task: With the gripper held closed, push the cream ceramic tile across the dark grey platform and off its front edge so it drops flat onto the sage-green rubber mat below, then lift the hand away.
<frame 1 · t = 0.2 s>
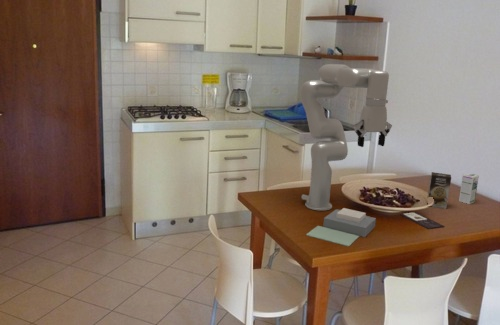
hand: (370, 145, 192), 36 cm above the table, tool pointing down, fingers open, 9 cm apart
coffee box: (436, 206, 240), on the table
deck: (349, 226, 206), on the table
chocolate bar: (421, 222, 217), on the table
syrup box: (466, 202, 248), on the table
mat: (332, 236, 195), on the table
tile: (351, 217, 205), point 4 cm above the table, touching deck
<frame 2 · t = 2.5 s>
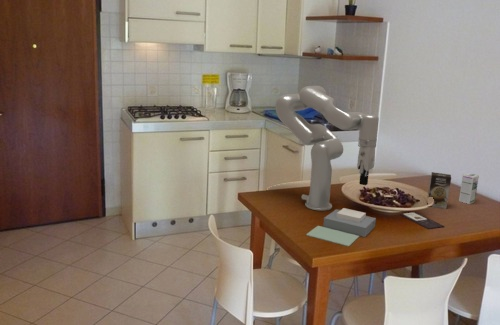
hand: (363, 184, 211), 16 cm above the table, tool pointing down, fingers closed
nothing on the table moved.
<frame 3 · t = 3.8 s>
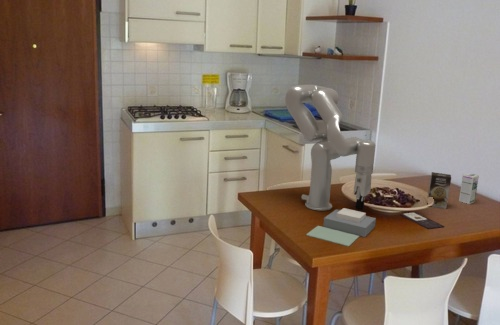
hand: (359, 209, 214), 5 cm above the table, tool pointing down, fingers closed
nothing on the table moved.
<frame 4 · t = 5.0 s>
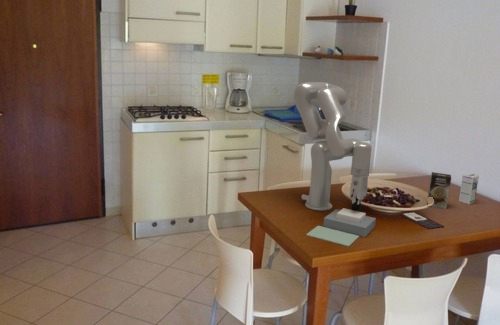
hand: (355, 212, 210), 5 cm above the table, tool pointing down, fingers closed
tile: (350, 217, 205), point 4 cm above the table, touching gripper
everything else where it was.
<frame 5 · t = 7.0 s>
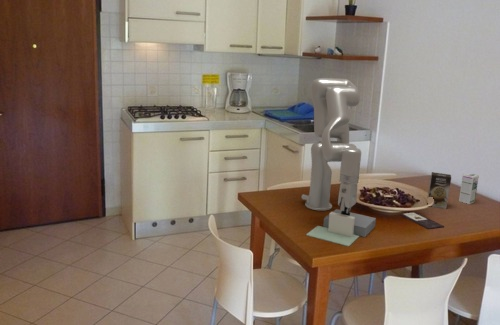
hand: (344, 221, 198), 5 cm above the table, tool pointing down, fingers closed
tile: (342, 223, 197), point 5 cm above the table, tilted 94°, touching gripper, mat
everything else where it was.
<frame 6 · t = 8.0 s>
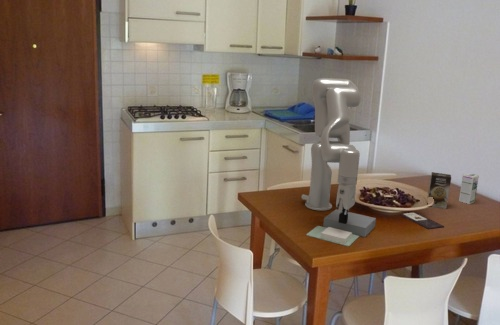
hand: (342, 222, 197), 5 cm above the table, tool pointing down, fingers closed
tile: (336, 232, 192), point 2 cm above the table, tilted 180°, touching mat
everything else where it was.
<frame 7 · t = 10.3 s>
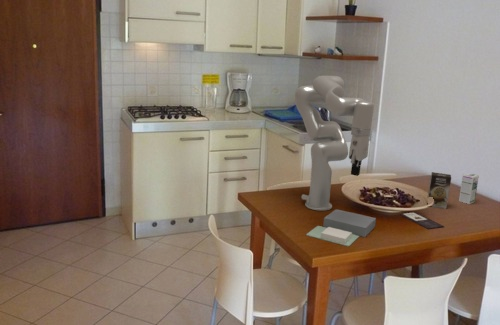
hand: (355, 174, 201), 23 cm above the table, tool pointing down, fingers closed
nothing on the table moved.
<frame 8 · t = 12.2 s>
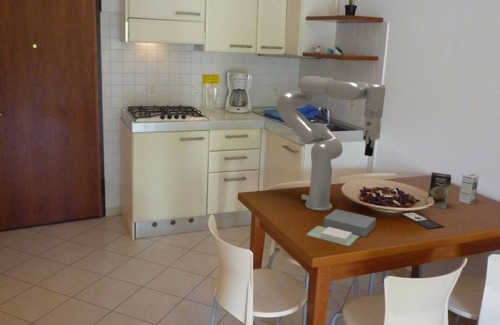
hand: (368, 155, 209), 29 cm above the table, tool pointing down, fingers closed
nothing on the table moved.
at the end: tile inside the target area (2.4 cm from its centre), point 2.4 cm above the table; tile touching mat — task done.
